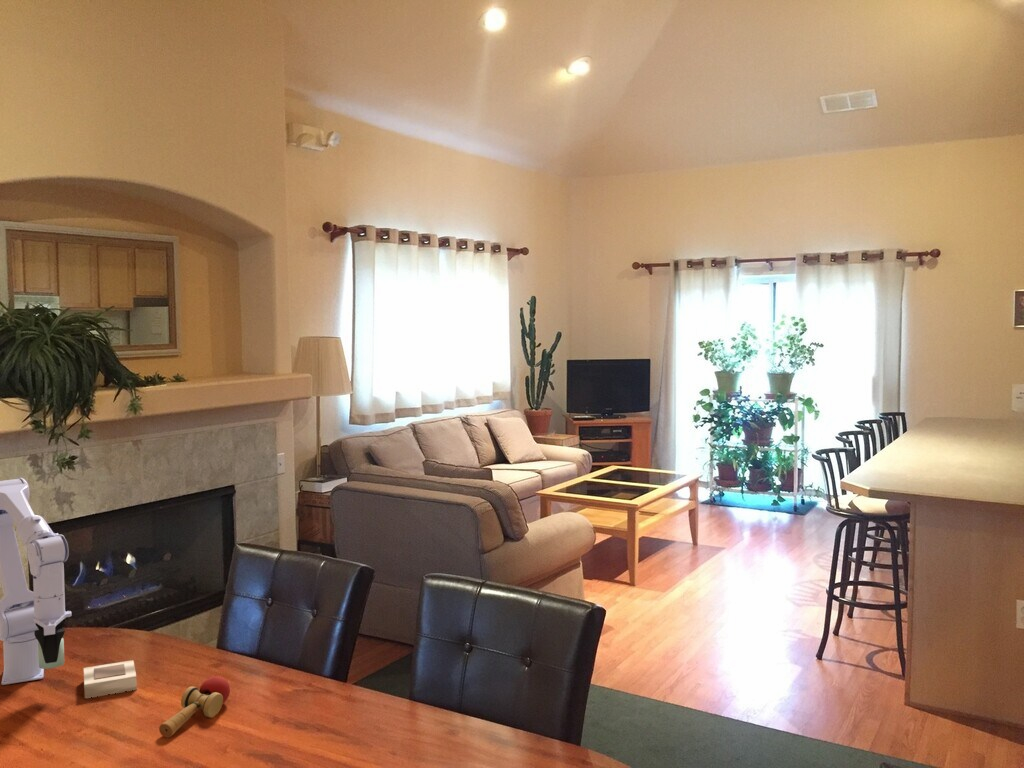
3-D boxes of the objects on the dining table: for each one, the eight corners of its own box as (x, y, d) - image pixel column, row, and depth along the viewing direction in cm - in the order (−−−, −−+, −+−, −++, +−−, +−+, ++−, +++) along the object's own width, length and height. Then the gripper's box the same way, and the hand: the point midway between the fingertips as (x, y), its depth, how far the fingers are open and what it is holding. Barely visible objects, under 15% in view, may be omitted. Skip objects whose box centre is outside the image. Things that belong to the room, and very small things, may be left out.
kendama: (187, 747, 165) (242, 696, 182) (178, 717, 164) (235, 668, 181) (154, 748, 168) (212, 697, 185) (145, 718, 167) (204, 670, 184)
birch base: (84, 681, 192) (83, 667, 192) (133, 673, 197) (133, 659, 196) (84, 698, 183) (84, 683, 183) (136, 689, 188) (136, 675, 187)
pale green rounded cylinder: (39, 662, 186) (38, 639, 185) (64, 658, 188) (63, 635, 187) (38, 670, 181) (37, 646, 181) (64, 666, 183) (63, 643, 183)
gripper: (70, 601, 179) (72, 666, 180) (70, 582, 192) (72, 643, 193) (31, 606, 176) (33, 672, 177) (33, 586, 188) (36, 648, 189)
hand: (51, 657), depth 184 cm, fingers closed on pale green rounded cylinder, 5 cm apart
